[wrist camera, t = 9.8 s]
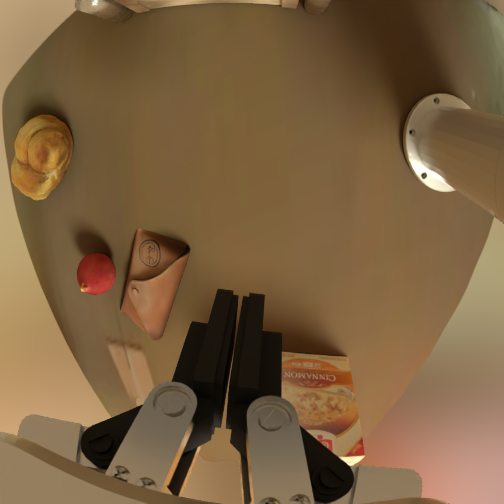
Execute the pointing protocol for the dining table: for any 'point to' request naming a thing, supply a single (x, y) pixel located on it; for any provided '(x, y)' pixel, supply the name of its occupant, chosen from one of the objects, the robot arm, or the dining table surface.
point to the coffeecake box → (324, 401)
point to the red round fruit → (96, 274)
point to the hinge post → (316, 6)
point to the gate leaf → (139, 3)
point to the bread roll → (41, 156)
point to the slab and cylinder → (105, 9)
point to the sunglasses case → (153, 281)
